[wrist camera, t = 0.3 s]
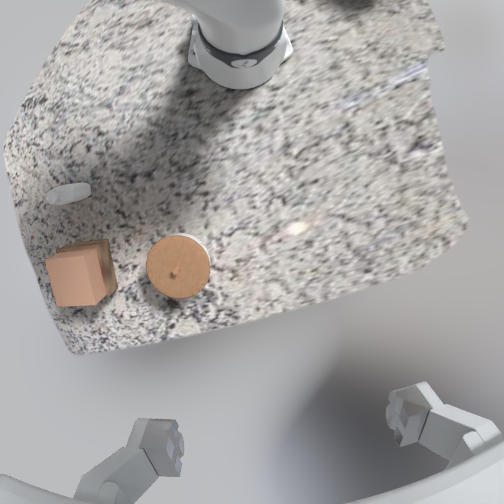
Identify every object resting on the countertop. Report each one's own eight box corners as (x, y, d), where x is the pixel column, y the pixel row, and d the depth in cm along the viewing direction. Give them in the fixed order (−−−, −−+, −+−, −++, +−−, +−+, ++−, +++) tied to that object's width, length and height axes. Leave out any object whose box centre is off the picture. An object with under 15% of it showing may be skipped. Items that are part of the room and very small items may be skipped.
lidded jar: (152, 272, 58) (137, 291, 49) (165, 219, 55) (151, 229, 46) (204, 289, 59) (198, 311, 50) (221, 237, 56) (217, 250, 47)
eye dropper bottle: (72, 176, 52) (38, 180, 41) (94, 185, 53) (62, 191, 41) (66, 196, 53) (32, 205, 42) (88, 206, 54) (56, 216, 42)
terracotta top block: (58, 252, 51) (44, 260, 46) (96, 248, 51) (83, 255, 47) (69, 296, 54) (57, 306, 49) (106, 294, 54) (96, 305, 49)
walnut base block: (68, 244, 56) (55, 250, 51) (108, 238, 56) (97, 244, 51) (78, 289, 59) (68, 298, 54) (118, 286, 59) (109, 296, 54)
